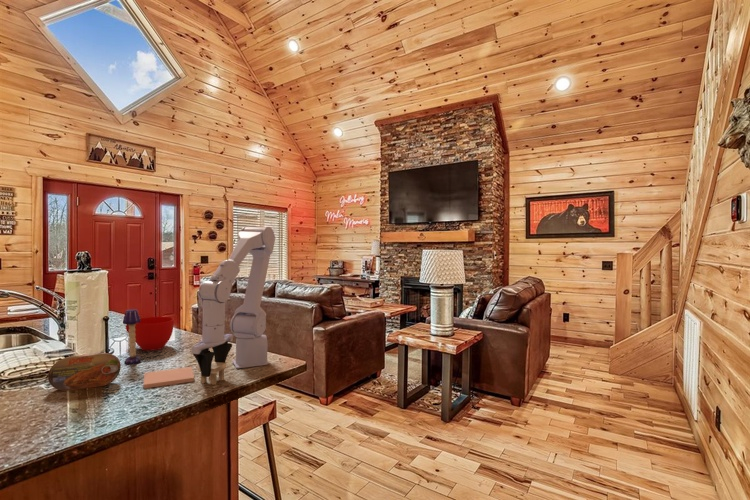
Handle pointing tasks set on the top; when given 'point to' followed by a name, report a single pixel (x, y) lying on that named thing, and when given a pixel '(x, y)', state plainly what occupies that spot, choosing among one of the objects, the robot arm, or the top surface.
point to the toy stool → (215, 372)
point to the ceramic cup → (153, 332)
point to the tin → (84, 371)
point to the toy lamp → (132, 335)
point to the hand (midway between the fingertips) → (212, 372)
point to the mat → (168, 377)
